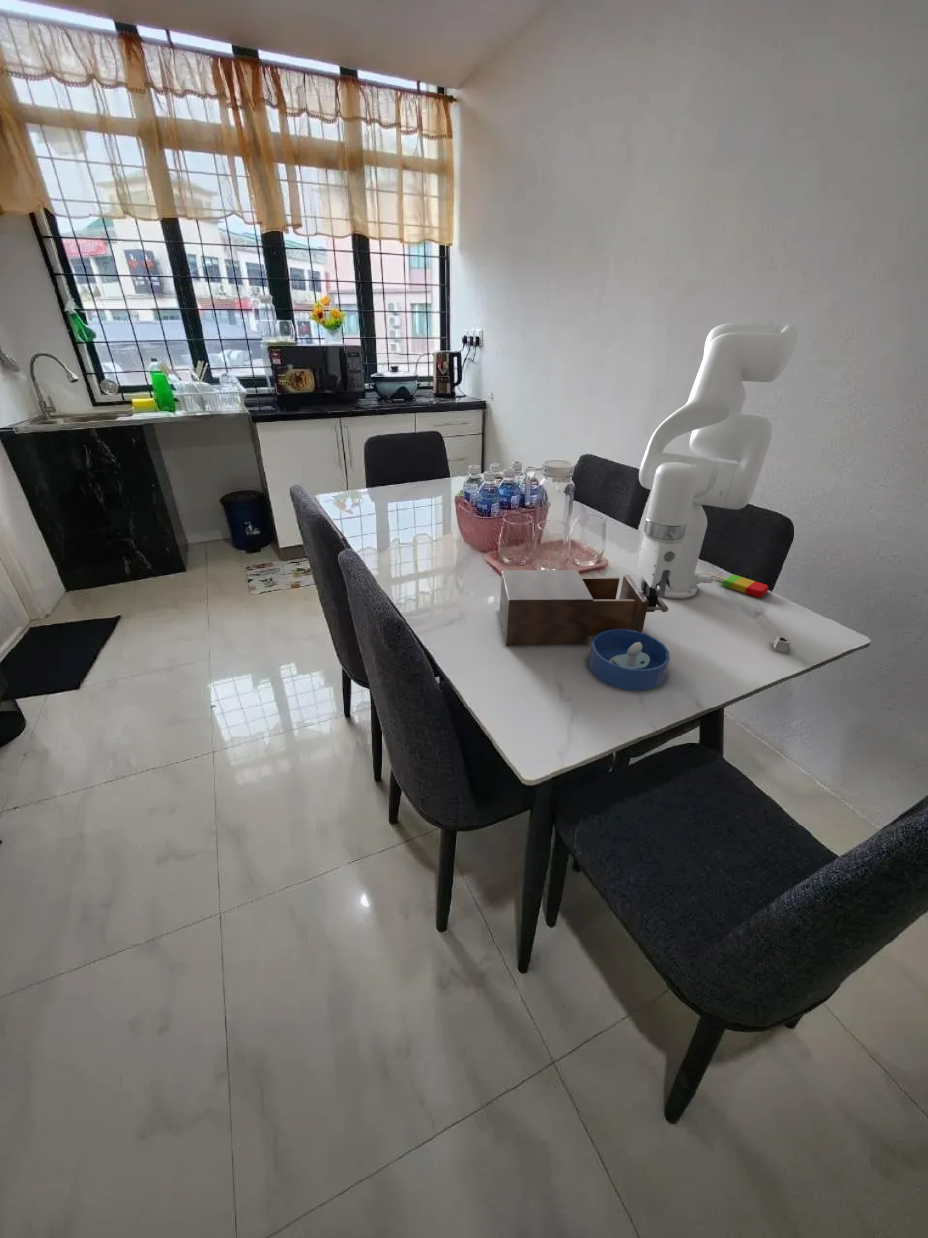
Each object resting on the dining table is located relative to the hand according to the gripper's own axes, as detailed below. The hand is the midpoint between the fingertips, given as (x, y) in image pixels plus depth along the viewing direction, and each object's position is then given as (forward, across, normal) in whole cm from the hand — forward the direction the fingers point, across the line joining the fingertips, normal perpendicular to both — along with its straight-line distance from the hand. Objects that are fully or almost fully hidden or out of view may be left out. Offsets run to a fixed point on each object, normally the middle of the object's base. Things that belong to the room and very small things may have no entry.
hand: (646, 610), depth 108 cm
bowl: (+4, -15, +8) cm, 18 cm away
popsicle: (+4, +20, -30) cm, 37 cm away
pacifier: (+4, -15, +8) cm, 18 cm away
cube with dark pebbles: (+4, -9, -26) cm, 27 cm away
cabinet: (+4, 0, +22) cm, 23 cm away
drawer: (+3, 0, +8) cm, 8 cm away
